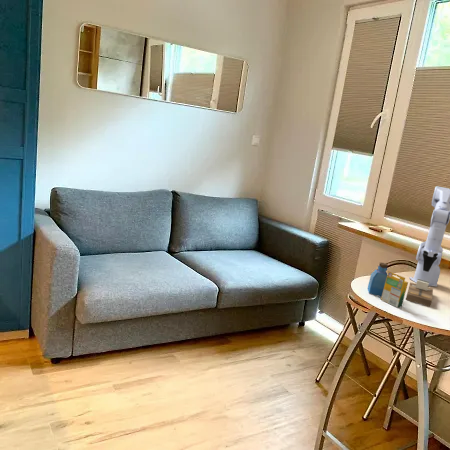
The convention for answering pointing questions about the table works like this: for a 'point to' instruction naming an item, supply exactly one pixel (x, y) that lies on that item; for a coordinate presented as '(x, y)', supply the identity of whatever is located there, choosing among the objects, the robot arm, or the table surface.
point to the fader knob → (422, 284)
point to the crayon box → (394, 290)
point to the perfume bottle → (378, 280)
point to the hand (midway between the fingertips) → (425, 269)
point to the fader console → (419, 295)
